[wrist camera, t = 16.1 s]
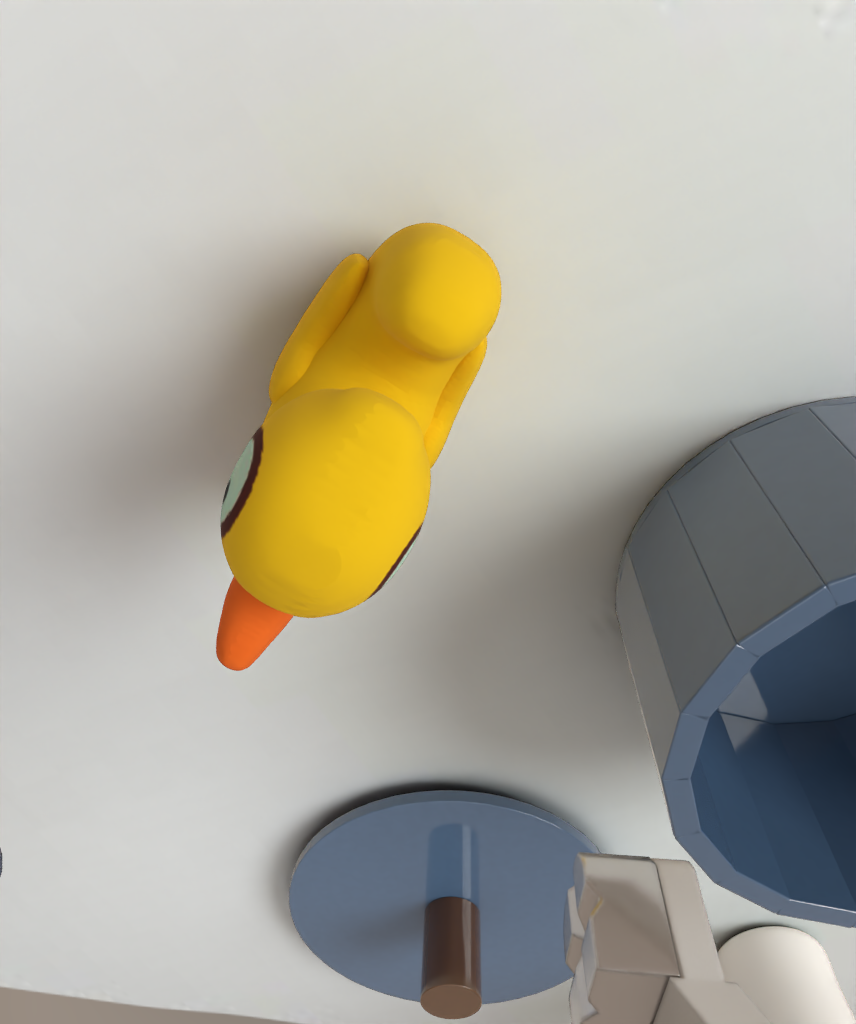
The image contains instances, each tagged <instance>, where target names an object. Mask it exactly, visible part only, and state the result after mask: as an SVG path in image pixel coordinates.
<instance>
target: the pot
mask: <svg viewBox="0 0 856 1024" xmlns="http://www.w3.org/2000/svg"><path fill="white" fill-rule="evenodd" d="M615 606H616V608H615V609H616V613H617V617H618V622H619V626H620V630H621V634H622V639H623V643H624V647H625V652H626V656H627V660H628V664H629V667H630V671H631V675H632V679H633V683H634V686H635V690H636V694H637V698H638V702H639V705H640V709H641V713H642V717H643V721H644V724H645V728H646V732H647V736H648V740H649V743H650V747H651V751H652V755H653V759H654V762H655V766H656V770H657V774H658V778H659V782H660V785H661V789H662V793H663V797H664V801H665V804H666V808H667V812H668V816H669V820H670V823H671V827H672V831H673V835H674V836H675V839H676V840H677V841H678V842H679V843H680V845H681V846H682V847H683V848H684V849H685V850H686V851H687V852H688V854H689V855H690V856H691V857H692V858H693V859H694V860H695V862H696V863H697V864H698V865H699V866H700V867H701V868H702V870H703V871H704V872H705V873H706V874H707V875H708V876H709V878H710V879H711V880H712V881H713V882H714V883H716V884H717V885H719V886H721V887H723V888H725V889H727V890H729V891H731V892H733V893H735V894H737V895H739V896H741V897H743V898H745V899H747V900H749V901H751V902H753V903H755V904H757V905H759V906H761V907H763V908H765V909H767V910H769V911H771V912H773V913H776V914H778V915H783V916H788V917H793V918H799V919H804V920H809V921H815V922H820V923H826V924H831V925H836V926H842V927H847V928H851V927H853V928H856V397H847V398H838V399H829V400H822V401H818V402H813V403H809V404H804V405H800V406H796V407H792V408H789V409H786V410H783V411H780V412H777V413H774V414H771V415H768V416H766V417H763V418H761V419H758V420H756V421H754V422H752V423H750V424H748V425H746V426H744V427H741V428H739V429H737V430H735V431H733V432H732V433H730V434H728V435H727V436H725V437H723V438H722V439H720V440H718V441H717V442H715V443H713V444H712V445H710V446H709V447H707V448H706V449H705V450H703V451H702V452H701V453H699V454H698V455H697V456H696V457H694V458H693V459H692V460H690V461H689V462H688V463H686V464H685V465H684V466H683V467H682V468H681V469H680V470H679V471H678V472H677V473H676V474H675V475H674V476H673V477H672V478H671V479H670V480H669V481H668V482H666V483H665V485H664V486H663V487H662V488H661V490H660V491H659V492H658V493H657V494H656V496H655V497H654V498H653V499H652V501H651V502H650V503H649V504H648V506H647V507H646V509H645V511H644V512H643V514H642V515H641V517H640V519H639V520H638V522H637V523H636V525H635V527H634V529H633V531H632V533H631V536H630V538H629V540H628V542H627V544H626V547H625V549H624V553H623V556H622V560H621V563H620V567H619V571H618V578H617V586H616V603H615Z"/></svg>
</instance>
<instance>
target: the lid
mask: <svg viewBox="0 0 856 1024" xmlns="http://www.w3.org/2000/svg"><path fill="white" fill-rule="evenodd" d="M579 852H583V853H598V854H601V853H600V851H599V850H598V848H597V847H596V846H595V845H594V844H593V843H592V842H591V841H590V840H589V839H588V838H587V837H586V836H585V835H584V834H583V833H581V832H580V831H579V830H577V829H576V828H575V827H573V826H572V825H571V824H569V823H568V822H566V821H564V820H562V819H561V818H559V817H557V816H555V815H554V814H552V813H550V812H548V811H545V810H543V809H540V808H538V807H536V806H533V805H531V804H528V803H525V802H521V801H518V800H515V799H512V798H508V797H503V796H498V795H493V794H488V793H480V792H471V791H454V790H437V791H423V792H414V793H408V794H401V795H395V796H392V797H388V798H384V799H380V800H377V801H373V802H371V803H368V804H366V805H363V806H360V807H358V808H355V809H353V810H351V811H349V812H347V813H346V814H344V815H342V816H340V817H338V818H337V819H335V820H334V821H332V822H331V823H329V824H328V825H327V826H325V827H324V828H323V829H321V830H320V831H319V832H318V833H317V834H316V835H315V836H314V837H313V838H312V839H311V840H310V841H309V843H308V844H307V845H306V847H305V848H304V849H303V851H302V852H301V854H300V856H299V858H298V860H297V862H296V864H295V867H294V870H293V874H292V878H291V883H290V887H289V906H290V912H291V917H292V919H293V922H294V925H295V927H296V929H297V931H298V933H299V935H300V936H301V938H302V940H303V941H304V942H305V944H306V945H307V946H308V947H309V948H310V950H311V951H312V952H313V953H314V954H315V955H316V956H317V957H318V958H320V959H321V960H322V961H323V962H324V963H325V964H327V965H328V966H329V967H331V968H332V969H333V970H335V971H336V972H338V973H339V974H341V975H343V976H345V977H346V978H348V979H350V980H352V981H354V982H356V983H358V984H360V985H363V986H365V987H367V988H369V989H372V990H375V991H378V992H381V993H384V994H387V995H390V996H394V997H398V998H402V999H406V1000H412V1001H417V1002H420V1003H421V1005H422V1007H423V1008H424V1009H425V1010H426V1011H427V1012H428V1013H430V1014H432V1015H434V1016H437V1017H440V1018H445V1019H460V1018H465V1017H468V1016H471V1015H473V1014H475V1013H476V1012H477V1011H478V1010H479V1009H480V1007H481V1005H482V1004H490V1003H498V1002H504V1001H509V1000H514V999H519V998H523V997H526V996H530V995H533V994H537V993H539V992H542V991H544V990H547V989H550V988H552V987H554V986H556V985H558V984H560V983H562V982H564V981H566V980H568V979H570V978H571V977H573V976H574V974H573V972H572V971H571V970H570V968H569V967H568V966H567V964H566V963H565V951H564V933H563V923H564V908H565V902H566V896H567V891H568V889H570V888H571V887H573V886H574V878H573V865H574V861H575V857H576V855H577V854H578V853H579Z"/></svg>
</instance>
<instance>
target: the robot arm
mask: <svg viewBox="0 0 856 1024" xmlns="http://www.w3.org/2000/svg"><path fill="white" fill-rule="evenodd" d="M1 873H2V852H1V849H0V876H1ZM573 878H574V886H573V887H571V888H570V889H568V891H567V896H566V902H565V908H564V923H563V933H564V951H565V963H566V964H567V966H568V967H569V968H570V970H571V971H572V972H573V974H574V978H573V982H572V986H571V990H570V994H569V1004H570V1013H571V1023H572V1024H772V1023H771V1022H770V1021H769V1019H768V1018H767V1017H766V1016H765V1015H764V1014H763V1013H762V1011H761V1010H760V1009H759V1008H758V1007H757V1006H756V1005H755V1003H754V1002H753V1001H752V1000H751V999H750V998H749V997H748V995H747V994H746V993H745V992H744V991H743V990H742V989H741V987H740V986H739V985H738V984H737V983H732V982H725V979H724V975H723V972H722V968H721V964H720V961H719V957H718V953H717V949H716V946H715V942H714V938H713V935H712V931H711V927H710V924H709V920H708V916H707V912H706V909H705V905H704V901H703V898H702V894H701V890H700V886H699V883H698V879H697V875H696V872H695V869H694V867H693V866H692V864H691V863H690V862H689V861H684V860H669V859H655V858H650V857H643V856H628V855H613V854H598V853H583V852H579V853H578V854H577V855H576V857H575V861H574V865H573Z"/></svg>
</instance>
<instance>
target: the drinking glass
mask: <svg viewBox="0 0 856 1024" xmlns="http://www.w3.org/2000/svg"><path fill="white" fill-rule="evenodd" d="M718 957H719V961H720V964H721V968H722V972H723V975H724V979H725V982H732V983H737V984H738V985H739V986H740V987H741V989H742V990H743V991H744V992H745V993H746V994H747V995H748V997H749V998H750V999H751V1000H752V1001H753V1002H754V1003H755V1005H756V1006H757V1007H758V1008H759V1009H760V1010H761V1011H762V1013H763V1014H764V1015H765V1016H766V1017H767V1018H768V1019H769V1021H770V1022H771V1023H772V1024H856V1019H855V1017H854V1015H853V1013H852V1011H851V1009H850V1007H849V1005H848V1003H847V1000H846V998H845V996H844V994H843V992H842V990H841V988H840V985H839V983H838V980H837V978H836V975H835V973H834V970H833V968H832V965H831V963H830V960H829V958H828V956H827V954H826V952H825V950H824V948H823V947H822V946H821V944H820V943H819V942H818V941H817V940H816V939H814V938H813V937H812V936H810V935H809V934H807V933H805V932H803V931H800V930H797V929H794V928H789V927H781V926H768V927H760V928H755V929H751V930H748V931H745V932H742V933H740V934H738V935H736V936H734V937H732V938H731V939H729V940H728V941H727V942H726V943H725V944H724V945H723V946H722V947H721V948H720V950H719V951H718Z"/></svg>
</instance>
